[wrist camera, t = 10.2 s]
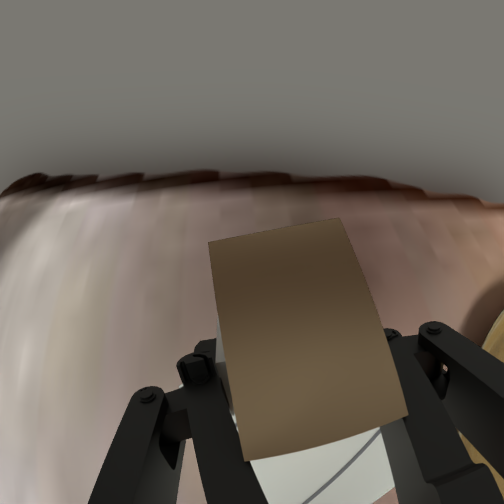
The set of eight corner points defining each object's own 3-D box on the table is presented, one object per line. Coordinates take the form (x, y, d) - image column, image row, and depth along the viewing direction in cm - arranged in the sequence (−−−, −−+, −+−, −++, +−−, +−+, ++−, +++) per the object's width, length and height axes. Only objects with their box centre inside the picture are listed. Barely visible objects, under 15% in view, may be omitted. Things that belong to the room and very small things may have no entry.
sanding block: (325, 419, 16) (408, 414, 6) (262, 434, 15) (244, 461, 5) (304, 333, 19) (339, 217, 9) (244, 345, 19) (208, 242, 9)
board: (185, 388, 19) (178, 386, 17) (327, 305, 22) (330, 297, 20) (288, 541, 12) (289, 550, 11) (429, 445, 15) (439, 446, 13)
